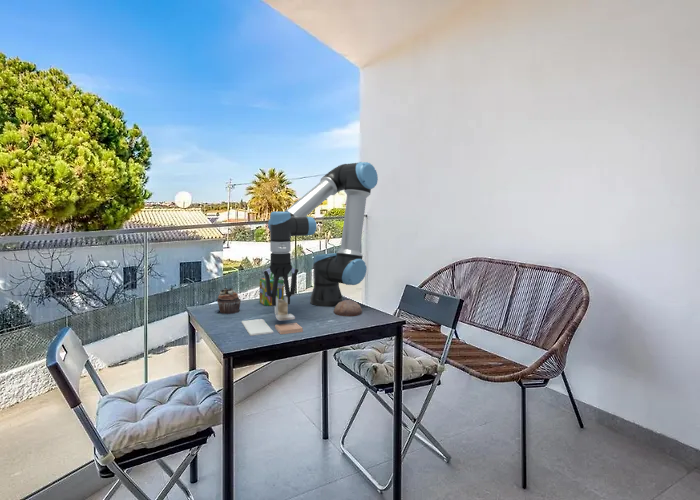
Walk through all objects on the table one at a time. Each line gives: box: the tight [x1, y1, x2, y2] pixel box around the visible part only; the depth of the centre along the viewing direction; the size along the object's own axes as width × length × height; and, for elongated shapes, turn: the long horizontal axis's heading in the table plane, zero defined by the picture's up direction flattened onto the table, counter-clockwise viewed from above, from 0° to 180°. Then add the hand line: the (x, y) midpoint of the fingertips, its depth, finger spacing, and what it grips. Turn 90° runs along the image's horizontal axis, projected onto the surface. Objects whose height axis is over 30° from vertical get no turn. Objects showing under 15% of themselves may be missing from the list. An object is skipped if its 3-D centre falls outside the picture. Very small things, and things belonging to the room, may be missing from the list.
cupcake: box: [216, 287, 242, 315], centre depth 172 cm, size 10×10×10 cm
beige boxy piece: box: [275, 299, 296, 321], centre depth 153 cm, size 6×13×5 cm, turn 23°
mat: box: [241, 318, 274, 337], centre depth 149 cm, size 8×18×1 cm, turn 24°
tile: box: [274, 322, 304, 335], centre depth 146 cm, size 8×2×8 cm
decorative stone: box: [333, 299, 363, 317], centre depth 171 cm, size 12×12×6 cm
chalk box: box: [259, 272, 285, 307], centre depth 187 cm, size 9×9×15 cm
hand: (281, 313), depth 155 cm, fingers closed on beige boxy piece, 3 cm apart
